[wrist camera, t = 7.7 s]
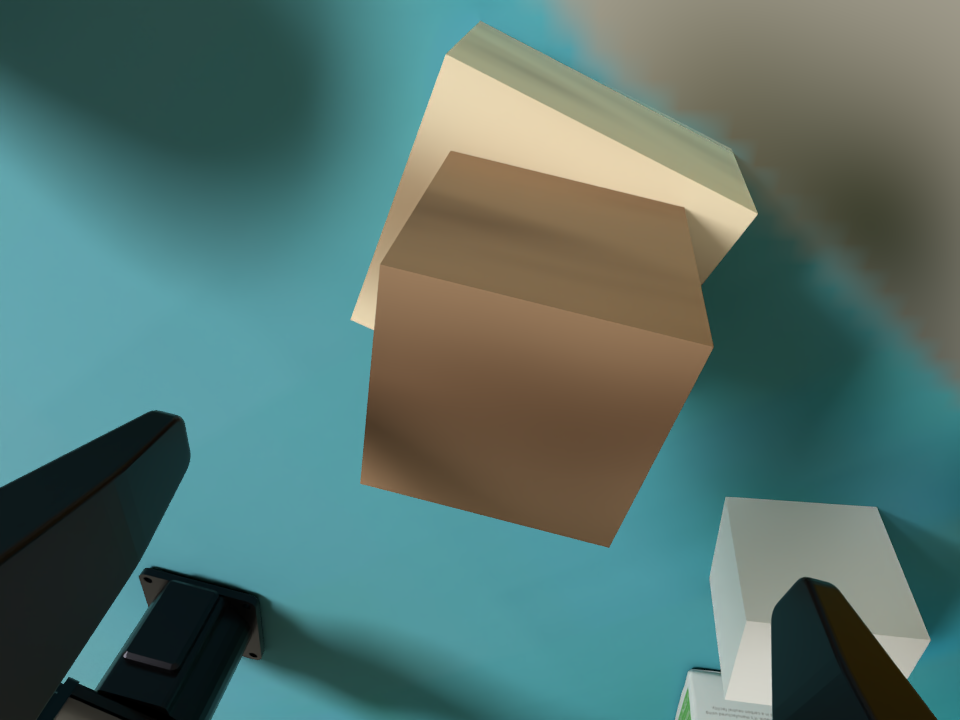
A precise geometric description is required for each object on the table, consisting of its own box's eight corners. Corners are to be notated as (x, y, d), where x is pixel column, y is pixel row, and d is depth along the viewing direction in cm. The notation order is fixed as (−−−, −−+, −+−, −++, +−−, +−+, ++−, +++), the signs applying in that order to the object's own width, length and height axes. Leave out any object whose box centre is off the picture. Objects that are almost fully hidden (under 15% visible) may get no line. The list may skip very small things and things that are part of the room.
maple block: (594, 343, 20) (588, 427, 17) (394, 249, 19) (350, 319, 16) (731, 148, 16) (758, 214, 13) (482, 19, 15) (446, 53, 12)
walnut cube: (610, 385, 16) (608, 547, 12) (422, 338, 16) (360, 483, 12) (684, 207, 13) (713, 346, 9) (450, 150, 13) (379, 264, 9)
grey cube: (841, 588, 25) (881, 720, 21) (709, 576, 26) (724, 699, 22) (875, 505, 22) (930, 640, 18) (725, 495, 23) (746, 621, 19)
